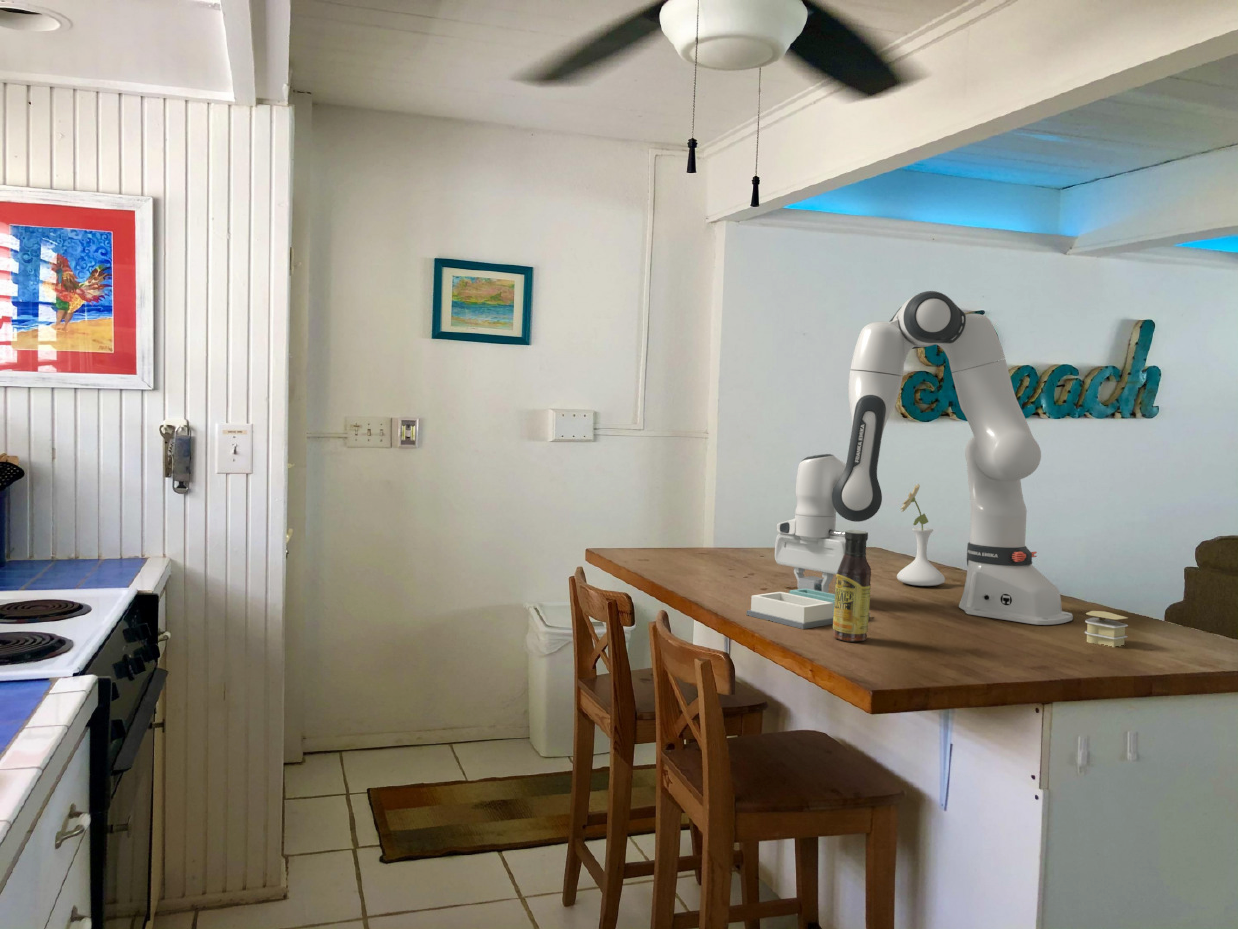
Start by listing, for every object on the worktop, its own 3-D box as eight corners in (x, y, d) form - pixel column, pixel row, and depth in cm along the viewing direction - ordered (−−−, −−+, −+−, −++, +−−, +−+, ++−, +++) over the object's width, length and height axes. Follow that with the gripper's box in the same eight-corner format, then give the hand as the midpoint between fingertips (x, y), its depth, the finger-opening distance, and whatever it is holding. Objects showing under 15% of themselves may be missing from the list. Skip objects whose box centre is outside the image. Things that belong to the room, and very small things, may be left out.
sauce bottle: (825, 636, 178) (829, 529, 177) (853, 634, 181) (857, 528, 180) (847, 644, 172) (851, 533, 171) (875, 642, 175) (880, 532, 174)
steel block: (827, 601, 213) (827, 579, 213) (813, 603, 210) (814, 580, 210) (811, 598, 217) (812, 576, 217) (797, 600, 214) (798, 577, 214)
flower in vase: (911, 579, 246) (915, 481, 245) (953, 586, 238) (957, 484, 237) (883, 584, 237) (887, 482, 236) (925, 591, 229) (930, 486, 228)
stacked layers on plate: (1144, 648, 177) (1145, 618, 177) (1115, 653, 172) (1116, 622, 172) (1093, 636, 186) (1094, 608, 185) (1064, 641, 181) (1065, 612, 181)
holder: (869, 617, 197) (870, 598, 196) (802, 629, 184) (803, 608, 184) (812, 605, 208) (813, 586, 208) (746, 615, 196) (747, 595, 196)
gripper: (862, 532, 207) (860, 596, 207) (790, 522, 223) (788, 582, 223) (843, 533, 203) (840, 599, 203) (771, 523, 219) (769, 584, 220)
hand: (812, 590), depth 214 cm, fingers closed on steel block, 4 cm apart
